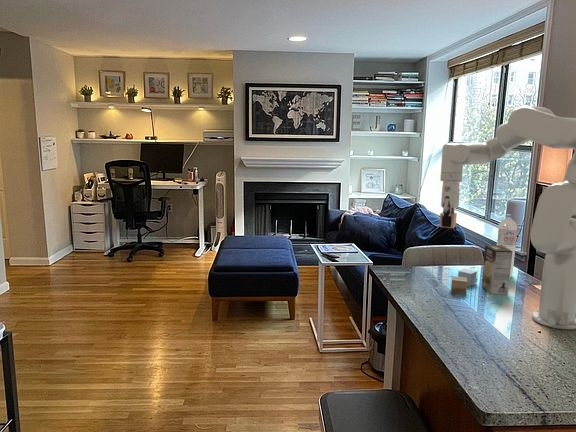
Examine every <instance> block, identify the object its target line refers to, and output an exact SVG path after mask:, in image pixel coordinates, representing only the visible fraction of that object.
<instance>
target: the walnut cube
mask: <svg viewBox="0 0 576 432" xmlns="http://www.w3.org/2000/svg"><path fill="white" fill-rule="evenodd" d="M467 287H468V286H467V278H465V277H458V276H454V275H452V276H451V285H450V293H451V294H455V295H463V296H466V295H467V291H468V290H467Z"/></svg>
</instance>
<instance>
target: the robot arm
mask: <svg viewBox="0 0 576 432" xmlns="http://www.w3.org/2000/svg"><path fill="white" fill-rule="evenodd" d="M530 141H532V142H534V143H537V144H538V145H539V144H540V145H542V146H545V147H548V148H550V149H551V148H552V149H558V150H559V149H564V150H566V149H572V150H574V153H573V155H572V157H571V158H570V160H569V162H568V164H567V165H566V169H565V174H564V176H563V179H562V182H556V183H553V184H551V185H548V186H547V187H546V188H545V189H544V190H543V191H542V193H541V194H540V195H539V197H538V201H537V205H536V208H535V212H534V217H533V220H532V224H531V228H530V236H529V237H530V242H531V245H532V247H533V248H535V250H536V251H538V252H539V253H542V254H545V257H544V262H543V269H542V277H541V287H540V295H539V303H538V304H539V305H538V310H536V311H533V312H532V313H531V315H532V316H531V317H532V319H533V321H535V322H536V323H538V324H541V325H543V326H546V327H549V328H553V329H558V330H559V329H560V330H576V218H574V217H573V216H576V117H563V116H559V115H558V116H557V115H555V113H554V112H553V111H552V110H551V109H549V108H547V107H545V106H544V107H543V106H535V105H532V106H531V105H521V106H519V107H517V108H515V109H514V110H513V111H512V112H511V113H510V115H509V117H508V120H507V121H505V122H504V123H502V124H500V125H498V126H497V128H496V130H495V137H493V138H491V139H489V140H486V141H485V142H464V143H445V144H444V145H443V146H442V152H441V153H442V154H441V165H440V166H441V168H440V180H439V181H440V182H442V186H441V187H442V190H441V197H440V198H441V199H440V200H441V201H440V202H441V203H440V207H441V208H442V209H443V210H442V212H443V216H442V226H443V227H442V228H446V227H451V218H452V216H451V213H455V209H456V208H458V207H459V206H460V183H461V182H463V171H464V170H463V169H464V165H466V166H468V165H469V166H470V165H471V166H472V165H485V164H489V163H491V162H493V161H496V160H498V159H501V158H502V157H504V156H506V155H507V154H508V153H509V152H510V151H511V150H512V149H514V148H517V147H519V146H521V145H523V144H525V143H528V142H530Z"/></svg>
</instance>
